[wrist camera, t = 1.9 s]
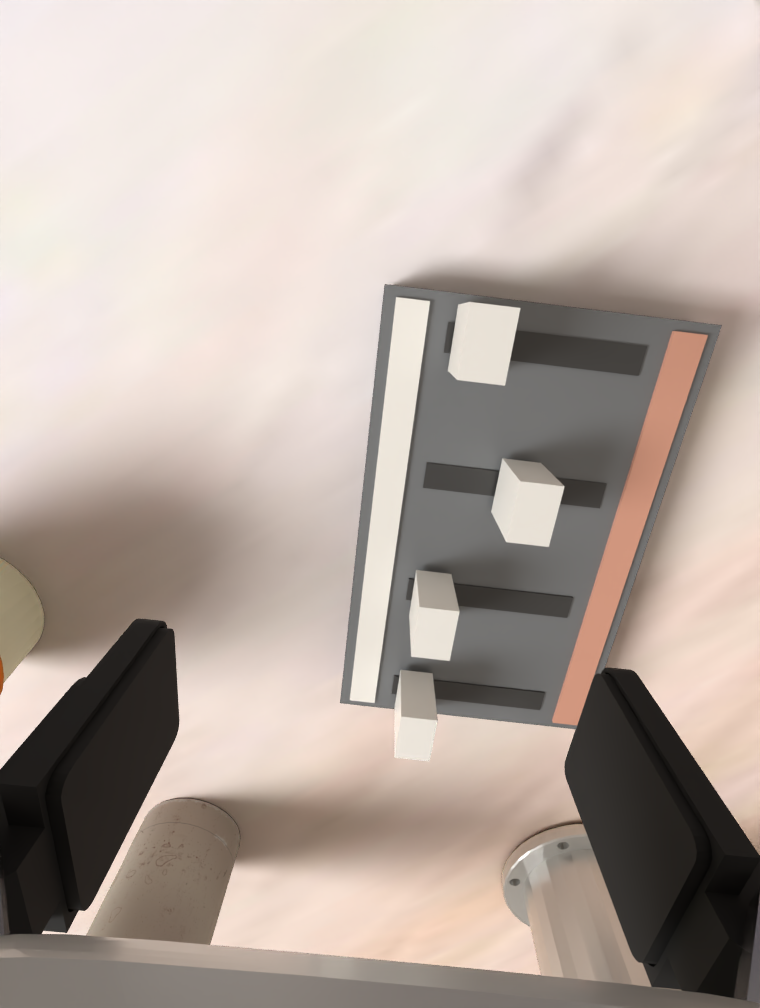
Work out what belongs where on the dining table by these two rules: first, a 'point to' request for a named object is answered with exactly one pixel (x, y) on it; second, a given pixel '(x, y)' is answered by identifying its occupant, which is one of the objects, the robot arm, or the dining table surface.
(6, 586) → the reusable coffee cup
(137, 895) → the thermos bottle
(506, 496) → the block
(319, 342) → the dining table surface
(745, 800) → the dining table surface
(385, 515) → the grey slider switch panel
